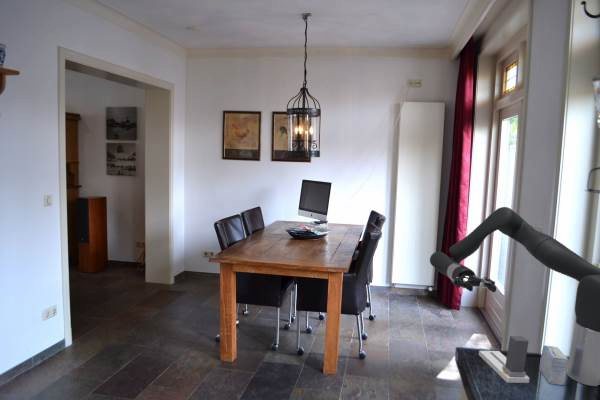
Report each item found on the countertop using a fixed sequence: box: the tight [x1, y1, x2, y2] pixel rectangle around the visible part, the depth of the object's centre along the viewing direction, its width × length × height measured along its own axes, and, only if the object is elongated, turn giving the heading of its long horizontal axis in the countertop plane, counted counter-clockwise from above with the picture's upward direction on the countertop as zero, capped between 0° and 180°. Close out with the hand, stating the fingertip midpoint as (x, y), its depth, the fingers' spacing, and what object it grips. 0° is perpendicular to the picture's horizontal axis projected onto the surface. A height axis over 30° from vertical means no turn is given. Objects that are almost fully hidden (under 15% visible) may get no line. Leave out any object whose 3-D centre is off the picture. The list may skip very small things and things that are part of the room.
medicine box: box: [539, 345, 569, 386], centre depth 128 cm, size 8×4×9 cm, turn 168°
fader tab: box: [502, 335, 530, 376], centre depth 125 cm, size 5×4×11 cm
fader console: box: [478, 350, 530, 384], centre depth 132 cm, size 7×16×2 cm, turn 6°
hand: (483, 289), depth 145 cm, fingers open, 8 cm apart
